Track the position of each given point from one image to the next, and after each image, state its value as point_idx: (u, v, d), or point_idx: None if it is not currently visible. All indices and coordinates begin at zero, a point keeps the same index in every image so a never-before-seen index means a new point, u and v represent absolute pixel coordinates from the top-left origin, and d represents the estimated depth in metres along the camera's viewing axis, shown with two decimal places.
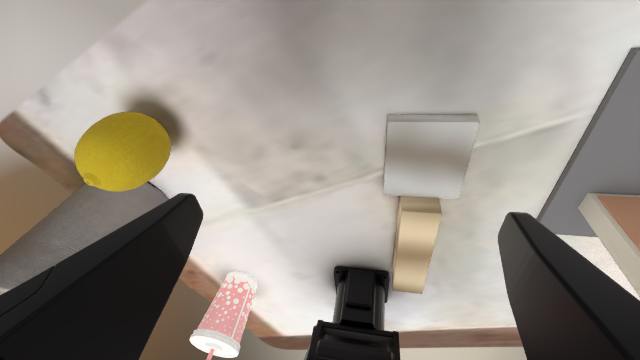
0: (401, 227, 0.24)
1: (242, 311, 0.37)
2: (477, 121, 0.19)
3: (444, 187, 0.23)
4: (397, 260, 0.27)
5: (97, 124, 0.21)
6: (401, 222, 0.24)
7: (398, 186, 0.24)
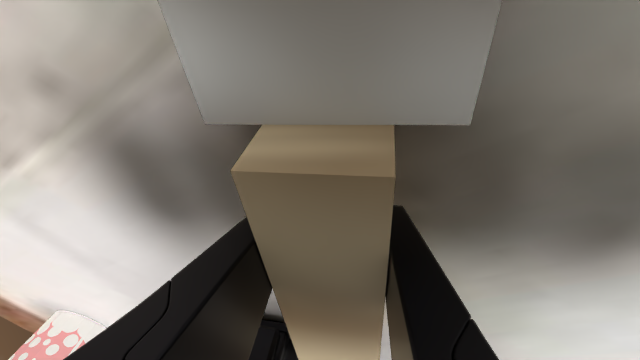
0: (258, 238, 0.07)
1: None
2: None
3: (411, 68, 0.05)
4: (291, 331, 0.09)
5: None
6: (251, 220, 0.06)
7: (237, 80, 0.06)
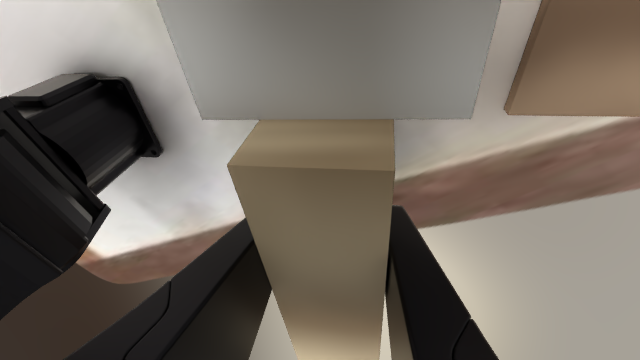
0: (256, 235, 0.06)
1: None
2: None
3: (411, 60, 0.05)
4: (290, 329, 0.09)
5: None
6: (249, 215, 0.06)
7: (234, 73, 0.06)
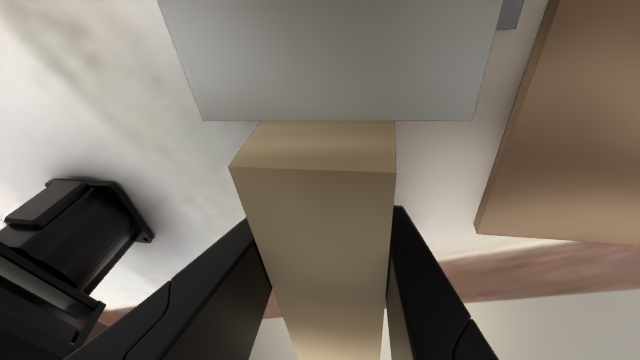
0: (257, 236, 0.06)
1: None
2: None
3: (412, 62, 0.05)
4: (291, 330, 0.09)
5: None
6: (250, 217, 0.06)
7: (236, 75, 0.06)
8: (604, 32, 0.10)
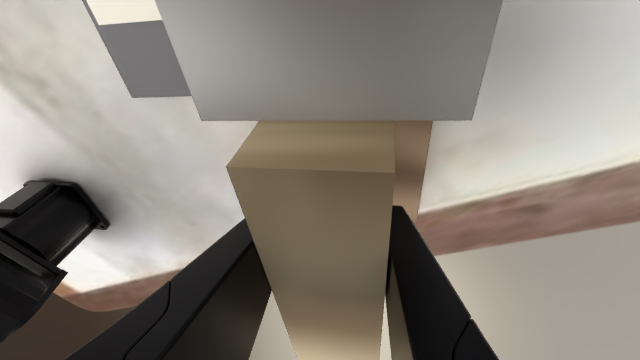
0: (256, 236, 0.06)
1: None
2: None
3: (411, 61, 0.05)
4: (290, 330, 0.09)
5: None
6: (248, 217, 0.06)
7: (234, 74, 0.06)
8: None
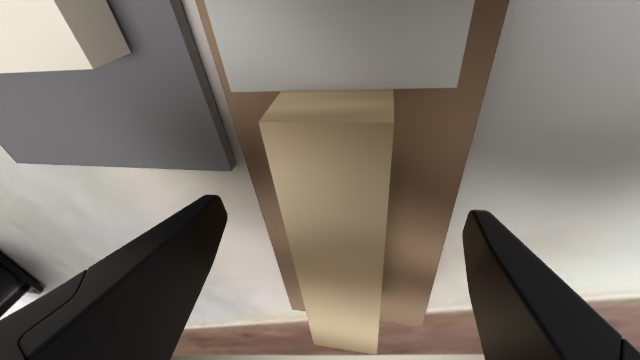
0: (278, 187, 0.08)
1: None
2: None
3: (408, 38, 0.07)
4: (302, 283, 0.11)
5: None
6: (273, 169, 0.07)
7: (261, 50, 0.07)
8: None
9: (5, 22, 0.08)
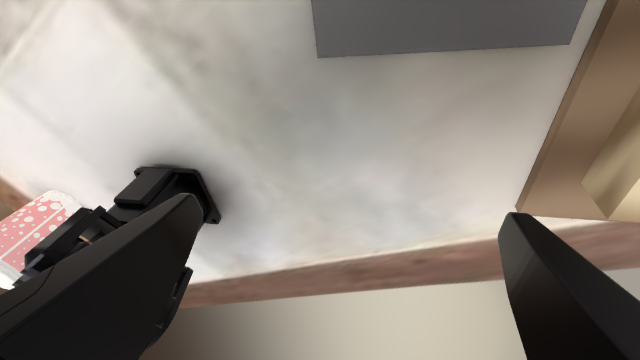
0: None
1: (35, 232, 0.29)
2: None
3: None
4: None
5: None
6: None
7: None
8: None
9: None
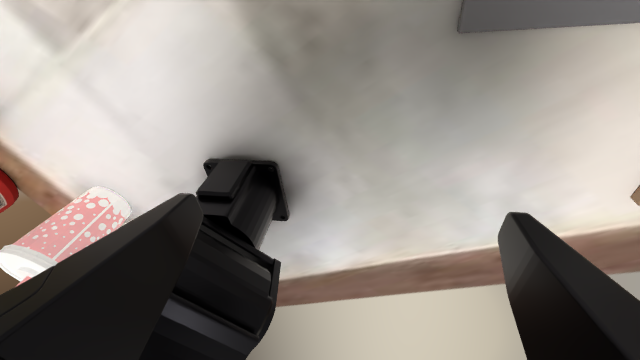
0: None
1: (86, 231, 0.26)
2: None
3: None
4: None
5: None
6: None
7: None
8: None
9: None
